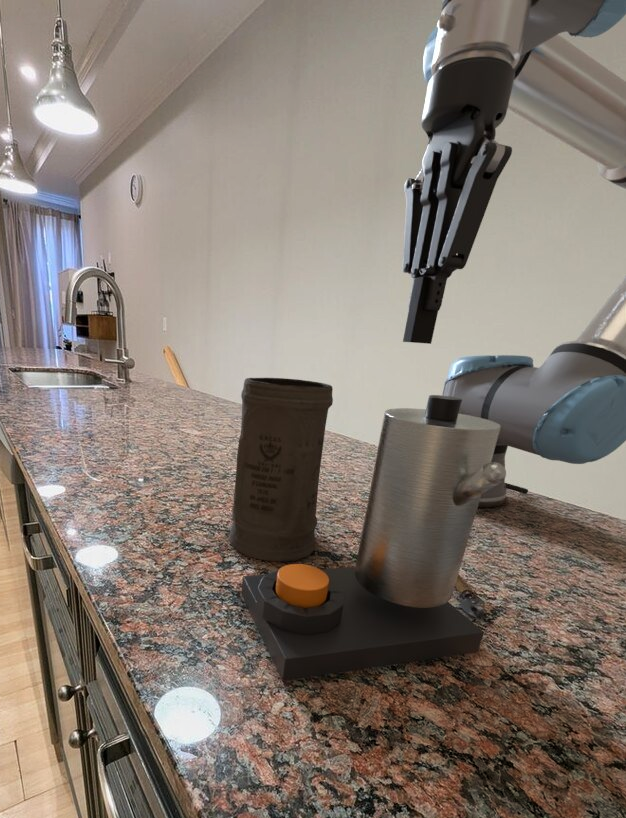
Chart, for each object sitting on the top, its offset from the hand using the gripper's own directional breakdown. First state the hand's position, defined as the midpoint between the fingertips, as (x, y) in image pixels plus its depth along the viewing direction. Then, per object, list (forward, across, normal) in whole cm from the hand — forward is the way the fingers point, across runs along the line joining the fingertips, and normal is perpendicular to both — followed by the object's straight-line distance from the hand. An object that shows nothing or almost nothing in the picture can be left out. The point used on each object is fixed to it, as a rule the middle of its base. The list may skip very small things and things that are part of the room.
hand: (416, 342), depth 51 cm
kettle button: (+21, +17, -19) cm, 33 cm away
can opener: (+24, +15, +1) cm, 29 cm away
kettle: (+20, +17, -8) cm, 28 cm away
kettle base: (+24, +17, -13) cm, 32 cm away
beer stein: (+25, -2, -14) cm, 28 cm away
